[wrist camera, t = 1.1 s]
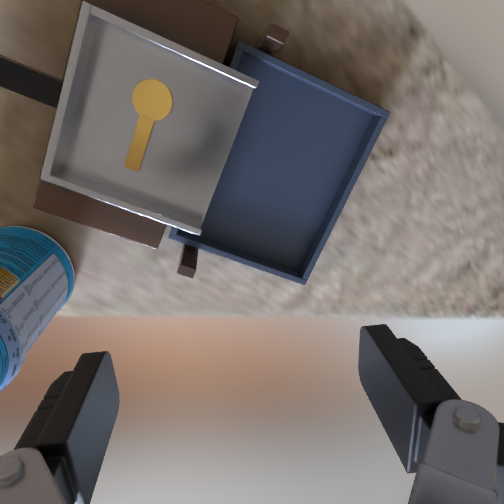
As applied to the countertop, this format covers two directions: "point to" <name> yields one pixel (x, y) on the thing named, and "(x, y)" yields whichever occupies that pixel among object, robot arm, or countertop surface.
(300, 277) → the tray
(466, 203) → the countertop surface
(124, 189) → the grey dustpan
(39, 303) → the beverage bottle
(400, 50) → the countertop surface
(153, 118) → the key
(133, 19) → the stand
